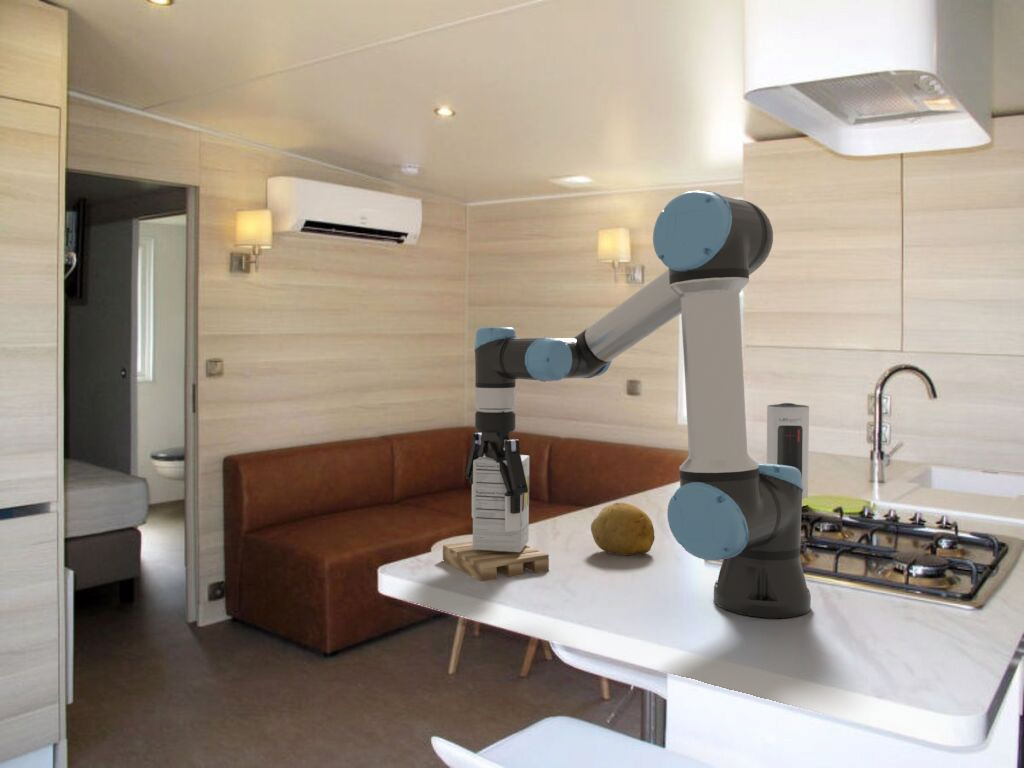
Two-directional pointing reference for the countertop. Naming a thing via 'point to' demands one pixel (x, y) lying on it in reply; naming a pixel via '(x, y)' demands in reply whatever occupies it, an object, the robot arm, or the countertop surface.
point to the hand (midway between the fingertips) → (495, 523)
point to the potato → (623, 530)
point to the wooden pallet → (494, 561)
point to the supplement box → (496, 508)
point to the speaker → (789, 438)
